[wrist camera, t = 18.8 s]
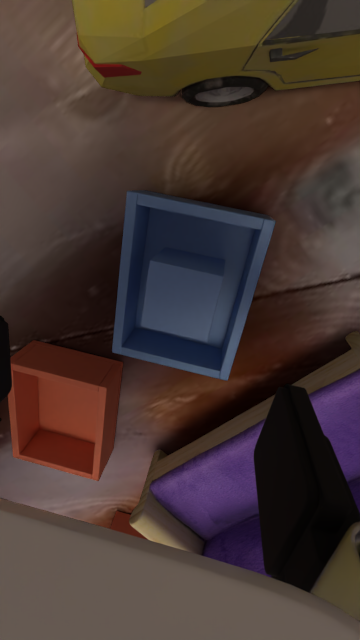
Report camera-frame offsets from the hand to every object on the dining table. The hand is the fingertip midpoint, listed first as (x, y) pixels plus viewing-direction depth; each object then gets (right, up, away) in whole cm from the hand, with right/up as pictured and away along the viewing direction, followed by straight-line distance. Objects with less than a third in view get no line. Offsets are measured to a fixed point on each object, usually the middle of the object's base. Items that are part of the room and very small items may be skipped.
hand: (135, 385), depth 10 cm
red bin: (-8, -5, +16) cm, 19 cm away
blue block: (+2, +5, +10) cm, 11 cm away
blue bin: (+2, +5, +10) cm, 12 cm away
